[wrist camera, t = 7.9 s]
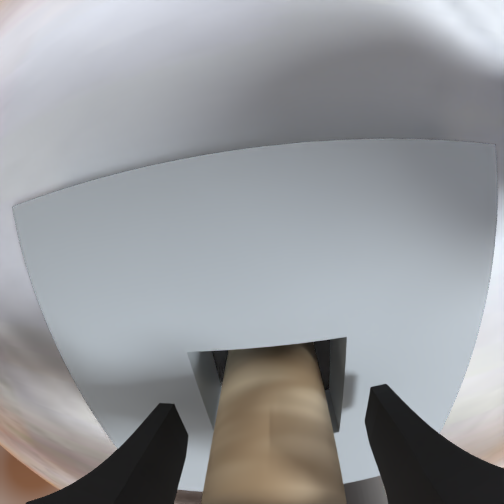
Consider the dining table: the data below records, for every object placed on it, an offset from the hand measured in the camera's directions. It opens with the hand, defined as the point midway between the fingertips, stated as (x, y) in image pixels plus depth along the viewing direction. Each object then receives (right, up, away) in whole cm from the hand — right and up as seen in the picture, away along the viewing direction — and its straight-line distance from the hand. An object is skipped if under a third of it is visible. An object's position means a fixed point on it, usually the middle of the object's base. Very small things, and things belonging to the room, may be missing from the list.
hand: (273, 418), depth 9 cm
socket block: (0, +1, +4) cm, 4 cm away
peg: (0, +1, +4) cm, 4 cm away
